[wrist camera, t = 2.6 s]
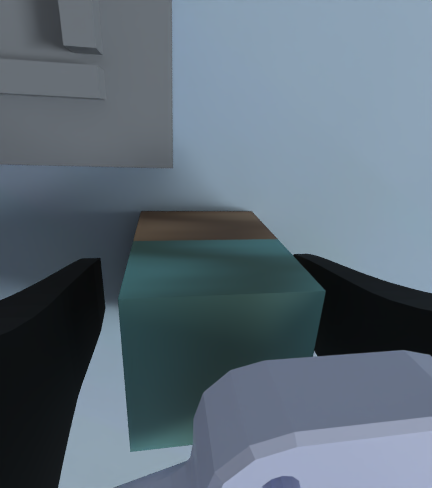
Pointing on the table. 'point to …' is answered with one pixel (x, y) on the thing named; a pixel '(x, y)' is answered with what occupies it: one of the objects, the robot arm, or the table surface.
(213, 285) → the block stack
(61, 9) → the plate
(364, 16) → the table surface
